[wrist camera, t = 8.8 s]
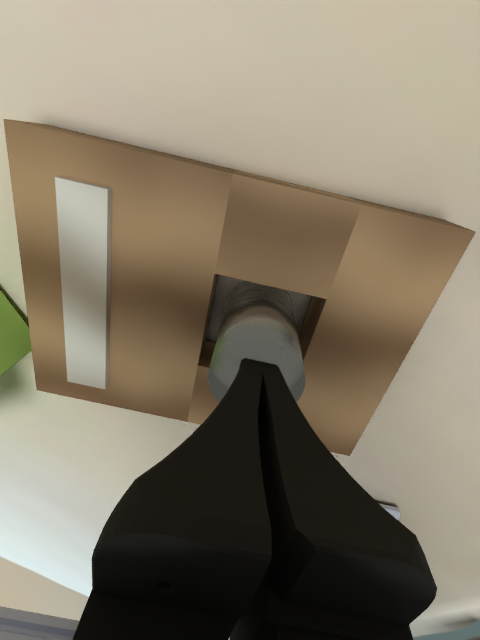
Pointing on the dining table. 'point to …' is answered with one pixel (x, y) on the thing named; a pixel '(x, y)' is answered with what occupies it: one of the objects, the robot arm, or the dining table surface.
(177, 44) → the dining table surface
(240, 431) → the robot arm
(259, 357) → the mottled grey cylinder
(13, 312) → the gearbox
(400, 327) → the jig
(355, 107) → the dining table surface
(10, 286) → the dining table surface
